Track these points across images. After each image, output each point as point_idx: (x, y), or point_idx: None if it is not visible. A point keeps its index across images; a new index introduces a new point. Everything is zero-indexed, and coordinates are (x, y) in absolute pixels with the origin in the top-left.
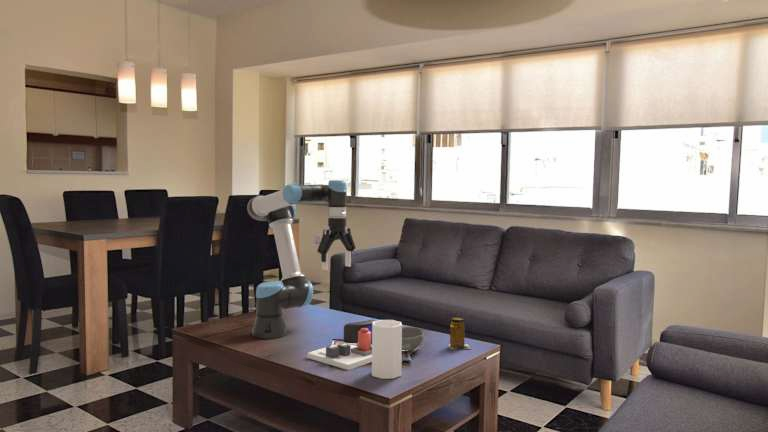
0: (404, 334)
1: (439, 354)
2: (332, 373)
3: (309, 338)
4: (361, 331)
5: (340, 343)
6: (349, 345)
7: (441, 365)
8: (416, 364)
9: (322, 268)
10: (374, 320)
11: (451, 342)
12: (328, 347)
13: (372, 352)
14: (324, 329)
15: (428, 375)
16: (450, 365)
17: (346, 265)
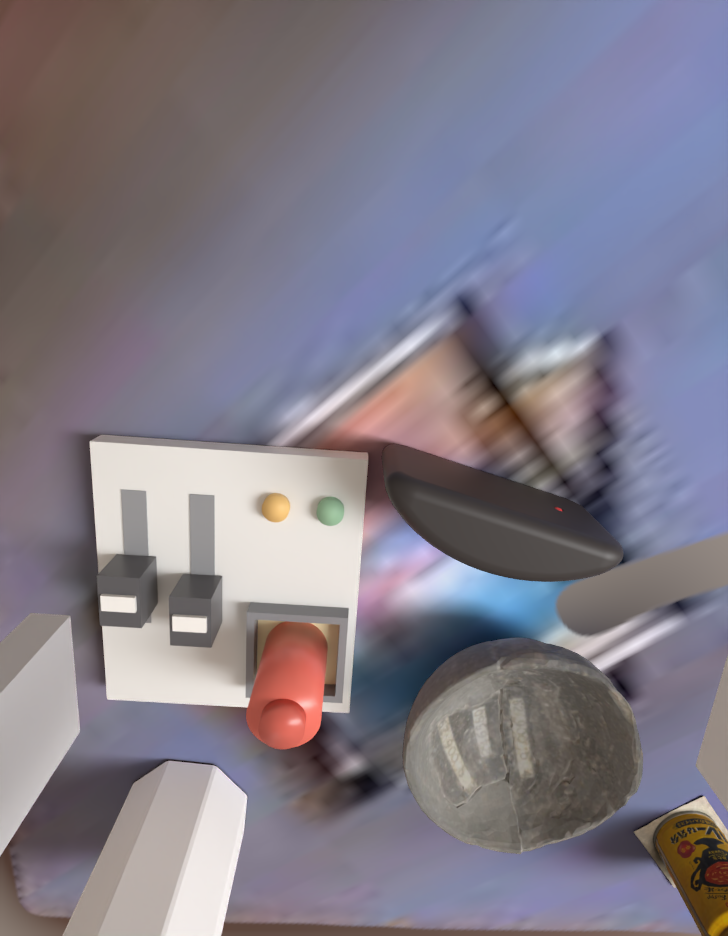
0: (593, 706)
1: None
2: None
3: (383, 160)
4: (260, 717)
5: (339, 465)
6: (207, 644)
7: (411, 892)
8: (362, 827)
9: (21, 633)
10: (600, 572)
11: (669, 846)
12: (102, 589)
13: (92, 872)
14: (630, 70)
15: (283, 907)
16: (432, 912)
17: (726, 701)
